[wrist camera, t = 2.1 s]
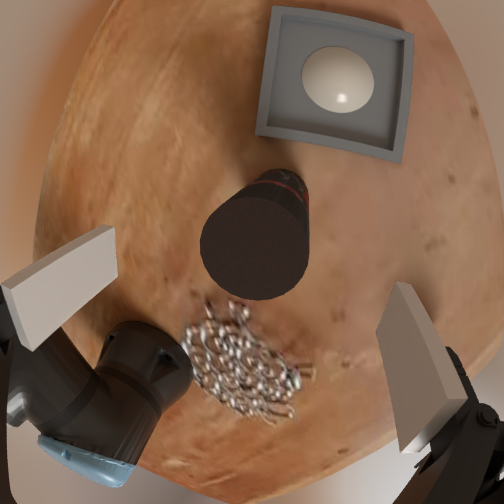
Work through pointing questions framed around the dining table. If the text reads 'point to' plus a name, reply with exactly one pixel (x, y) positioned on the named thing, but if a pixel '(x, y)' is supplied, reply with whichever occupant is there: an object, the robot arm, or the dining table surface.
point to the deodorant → (259, 237)
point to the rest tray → (336, 82)
